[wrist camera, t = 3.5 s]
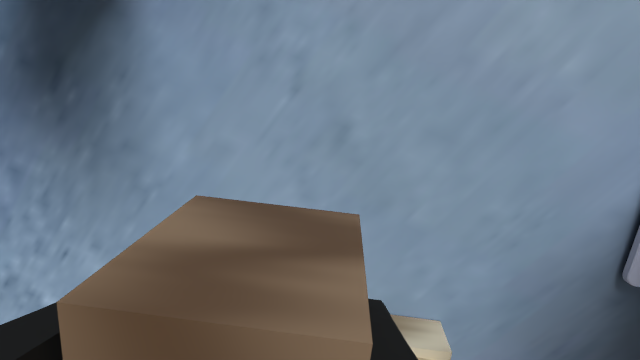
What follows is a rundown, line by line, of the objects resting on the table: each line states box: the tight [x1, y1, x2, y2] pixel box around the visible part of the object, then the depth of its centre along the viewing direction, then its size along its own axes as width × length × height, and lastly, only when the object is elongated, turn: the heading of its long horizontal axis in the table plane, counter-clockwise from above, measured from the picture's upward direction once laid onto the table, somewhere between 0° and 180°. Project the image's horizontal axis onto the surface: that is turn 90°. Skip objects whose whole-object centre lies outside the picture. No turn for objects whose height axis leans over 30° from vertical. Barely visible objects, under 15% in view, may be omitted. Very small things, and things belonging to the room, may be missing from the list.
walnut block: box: [57, 195, 373, 360], centre depth 8 cm, size 4×4×5 cm
